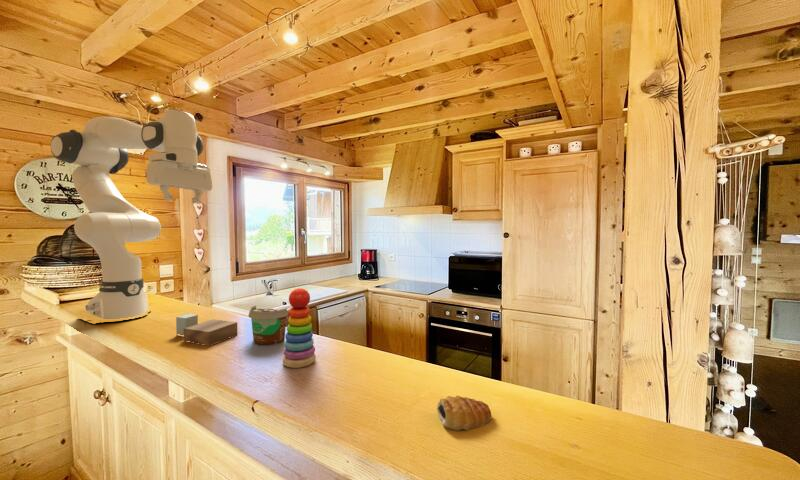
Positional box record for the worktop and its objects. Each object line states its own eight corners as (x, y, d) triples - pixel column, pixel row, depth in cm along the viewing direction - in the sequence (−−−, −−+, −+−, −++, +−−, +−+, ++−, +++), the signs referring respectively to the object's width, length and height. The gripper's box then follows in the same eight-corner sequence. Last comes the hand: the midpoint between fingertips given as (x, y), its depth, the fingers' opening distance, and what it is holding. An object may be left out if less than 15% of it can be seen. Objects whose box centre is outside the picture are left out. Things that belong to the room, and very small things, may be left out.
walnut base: (183, 341, 94) (183, 328, 94) (213, 331, 104) (213, 319, 104) (209, 345, 91) (209, 332, 91) (237, 334, 101) (237, 322, 100)
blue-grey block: (176, 336, 99) (176, 317, 99) (188, 332, 103) (188, 313, 103) (185, 337, 98) (185, 318, 98) (197, 333, 102) (197, 314, 102)
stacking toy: (275, 365, 79) (274, 289, 78) (299, 353, 86) (299, 284, 85) (299, 371, 75) (298, 292, 74) (322, 359, 82) (322, 287, 81)
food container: (239, 344, 92) (238, 310, 92) (254, 337, 98) (254, 305, 98) (274, 349, 89) (274, 313, 88) (288, 341, 95) (288, 308, 94)
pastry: (481, 406, 61) (481, 387, 61) (499, 428, 54) (499, 407, 54) (434, 412, 59) (434, 392, 59) (446, 435, 52) (447, 413, 52)
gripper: (202, 166, 116) (203, 204, 117) (142, 154, 97) (143, 199, 97) (216, 165, 114) (217, 204, 115) (157, 152, 95) (158, 198, 95)
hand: (182, 202), depth 106 cm, fingers open, 8 cm apart
